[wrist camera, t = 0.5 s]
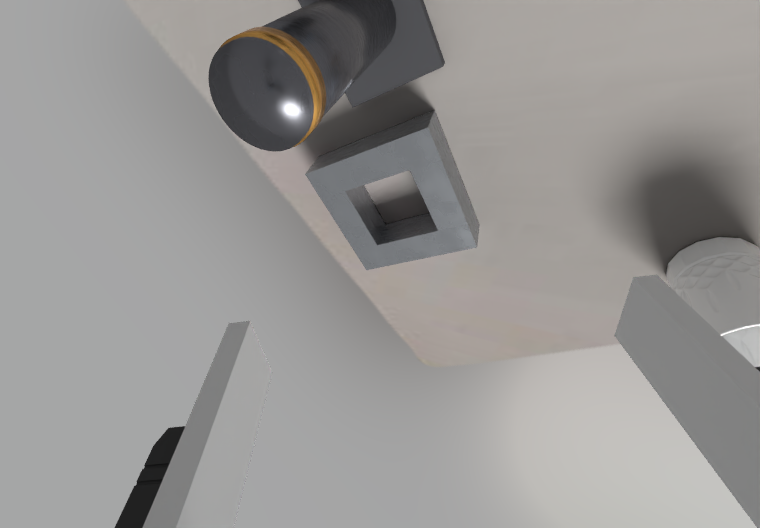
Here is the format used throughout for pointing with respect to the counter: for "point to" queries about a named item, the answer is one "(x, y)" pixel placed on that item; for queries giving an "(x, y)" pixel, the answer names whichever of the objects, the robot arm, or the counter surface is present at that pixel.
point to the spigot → (296, 68)
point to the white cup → (722, 289)
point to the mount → (399, 53)
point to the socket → (386, 158)
